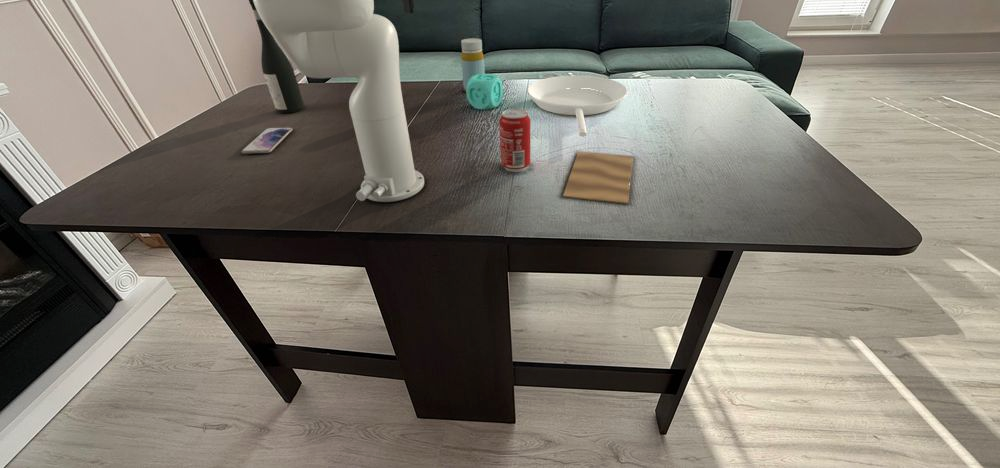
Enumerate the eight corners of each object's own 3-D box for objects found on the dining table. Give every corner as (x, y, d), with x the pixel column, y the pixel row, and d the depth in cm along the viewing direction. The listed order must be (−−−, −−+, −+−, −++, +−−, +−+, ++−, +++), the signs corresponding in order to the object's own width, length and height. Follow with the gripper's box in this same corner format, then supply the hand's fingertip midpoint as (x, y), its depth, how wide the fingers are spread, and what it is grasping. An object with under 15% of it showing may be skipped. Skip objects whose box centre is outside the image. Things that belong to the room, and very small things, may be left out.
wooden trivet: (627, 204, 78) (628, 202, 78) (562, 196, 81) (562, 195, 81) (632, 157, 93) (632, 156, 93) (578, 152, 96) (578, 151, 96)
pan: (618, 87, 134) (620, 74, 132) (644, 145, 98) (646, 129, 96) (528, 88, 137) (528, 75, 134) (521, 145, 101) (521, 129, 99)
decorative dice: (480, 99, 129) (478, 72, 125) (503, 102, 126) (502, 74, 122) (467, 107, 124) (464, 79, 119) (491, 111, 121) (489, 82, 116)
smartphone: (293, 127, 114) (269, 150, 101) (294, 130, 114) (270, 153, 102) (266, 127, 114) (239, 151, 101) (267, 130, 114) (241, 154, 102)
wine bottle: (281, 116, 123) (241, -1, 106) (273, 110, 128) (233, -3, 111) (308, 109, 127) (274, -4, 110) (300, 103, 132) (266, -6, 115)
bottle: (460, 89, 139) (456, 39, 130) (480, 85, 141) (477, 37, 132) (468, 95, 133) (464, 43, 125) (489, 91, 136) (486, 40, 127)
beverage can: (530, 160, 94) (531, 107, 87) (529, 174, 89) (529, 118, 82) (502, 160, 94) (500, 107, 88) (499, 173, 89) (497, 118, 82)
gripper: (340, -83, 77) (361, 22, 86) (421, -83, 86) (432, 12, 95) (323, -80, 81) (345, 19, 91) (402, -81, 91) (414, 9, 100)
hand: (389, 15), depth 93 cm, fingers open, 9 cm apart
